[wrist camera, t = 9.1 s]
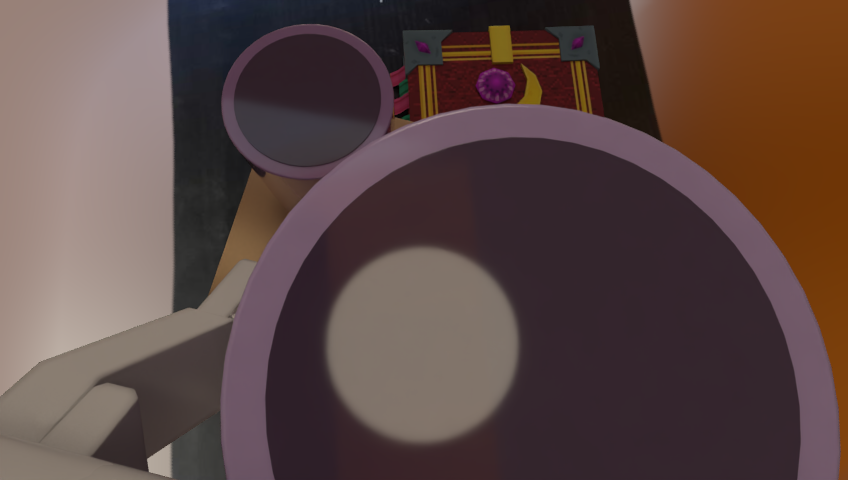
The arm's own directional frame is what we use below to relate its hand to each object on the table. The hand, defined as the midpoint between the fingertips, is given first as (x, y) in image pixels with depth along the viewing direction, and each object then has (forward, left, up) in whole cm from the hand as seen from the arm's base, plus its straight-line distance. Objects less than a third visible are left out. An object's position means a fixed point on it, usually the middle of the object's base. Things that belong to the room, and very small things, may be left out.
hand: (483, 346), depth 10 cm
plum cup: (+4, +10, -17) cm, 20 cm away
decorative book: (+18, +9, -29) cm, 36 cm away
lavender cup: (0, 0, -5) cm, 5 cm away
